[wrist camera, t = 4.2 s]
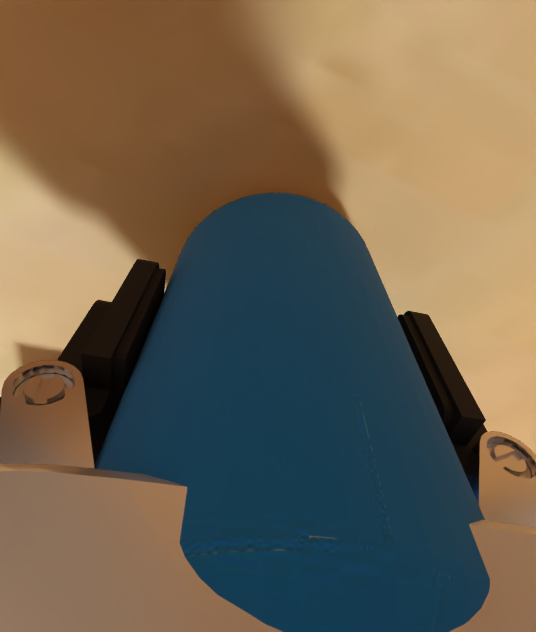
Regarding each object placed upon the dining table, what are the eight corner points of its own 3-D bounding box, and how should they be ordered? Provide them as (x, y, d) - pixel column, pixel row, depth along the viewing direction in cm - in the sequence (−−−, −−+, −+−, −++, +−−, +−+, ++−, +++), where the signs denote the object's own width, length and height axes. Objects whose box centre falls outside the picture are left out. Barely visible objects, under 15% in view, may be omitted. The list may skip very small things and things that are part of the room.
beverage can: (141, 268, 14) (-148, 800, 4) (288, 137, 12) (364, 664, 2) (265, 375, 17) (255, 851, 7) (404, 286, 15) (677, 819, 5)
